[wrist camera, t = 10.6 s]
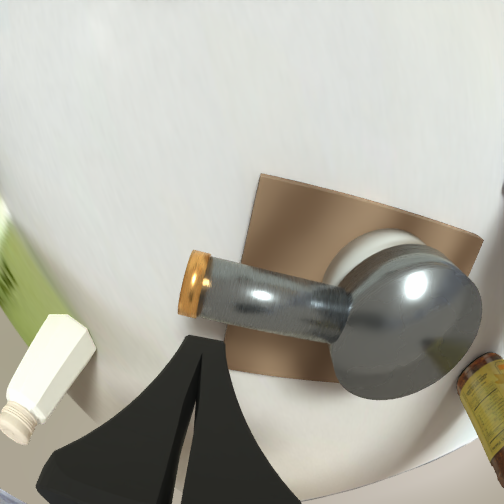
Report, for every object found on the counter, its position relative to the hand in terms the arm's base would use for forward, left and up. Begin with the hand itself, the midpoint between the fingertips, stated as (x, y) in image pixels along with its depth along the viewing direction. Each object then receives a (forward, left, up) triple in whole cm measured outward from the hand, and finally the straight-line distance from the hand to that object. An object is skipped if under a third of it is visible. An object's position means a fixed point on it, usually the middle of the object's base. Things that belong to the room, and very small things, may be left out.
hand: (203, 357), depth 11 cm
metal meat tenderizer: (-7, 0, -5) cm, 8 cm away
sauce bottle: (-27, +8, -10) cm, 30 cm away
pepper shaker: (+12, +11, -10) cm, 19 cm away
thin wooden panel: (-9, +2, -9) cm, 13 cm away
